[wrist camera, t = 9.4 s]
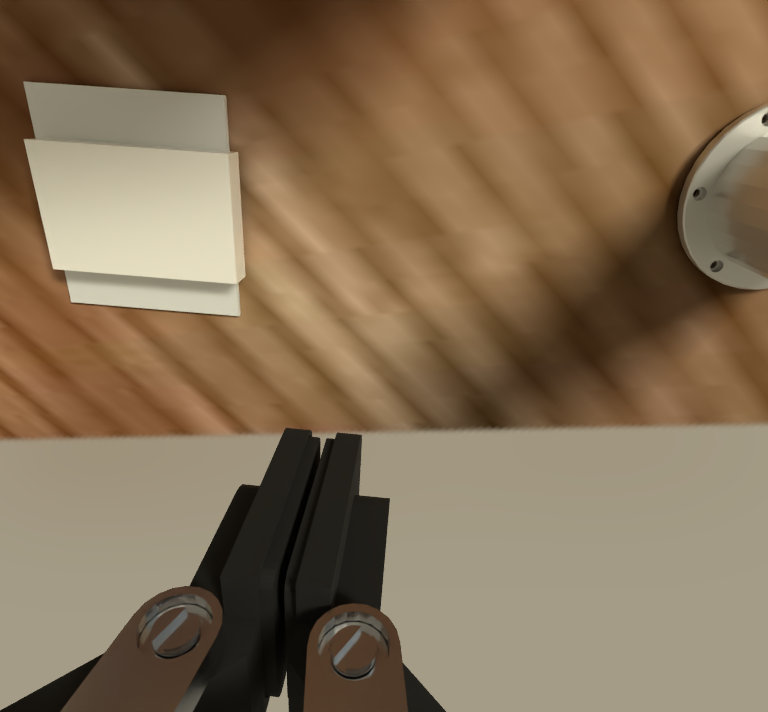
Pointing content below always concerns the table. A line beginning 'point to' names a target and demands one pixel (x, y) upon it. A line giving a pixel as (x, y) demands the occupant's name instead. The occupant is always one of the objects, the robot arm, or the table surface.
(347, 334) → the table surface
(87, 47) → the table surface
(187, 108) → the mat
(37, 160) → the glazed tile
